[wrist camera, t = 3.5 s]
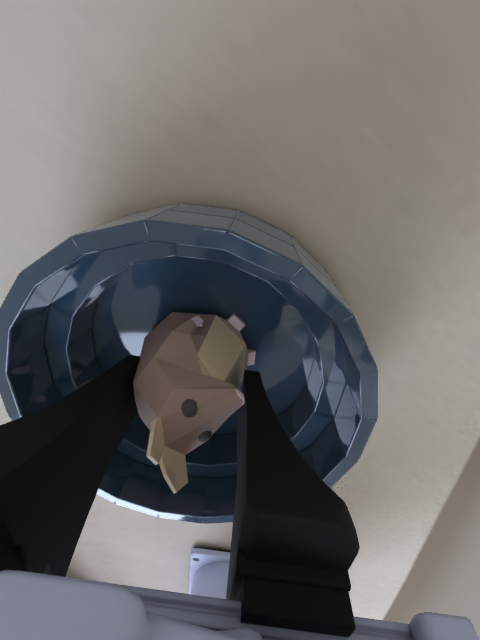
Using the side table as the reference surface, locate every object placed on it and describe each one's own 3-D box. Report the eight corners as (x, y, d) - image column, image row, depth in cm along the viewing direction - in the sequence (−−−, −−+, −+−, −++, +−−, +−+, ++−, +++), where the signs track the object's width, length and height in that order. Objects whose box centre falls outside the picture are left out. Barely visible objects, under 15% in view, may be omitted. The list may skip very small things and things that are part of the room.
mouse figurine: (83, 337, 15) (-39, 451, 9) (231, 289, 13) (205, 390, 7) (134, 411, 17) (63, 543, 11) (267, 378, 15) (270, 514, 9)
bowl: (310, 459, 18) (323, 540, 14) (86, 430, 19) (38, 502, 15) (387, 226, 12) (451, 257, 8) (38, 183, 12) (-74, 192, 8)
